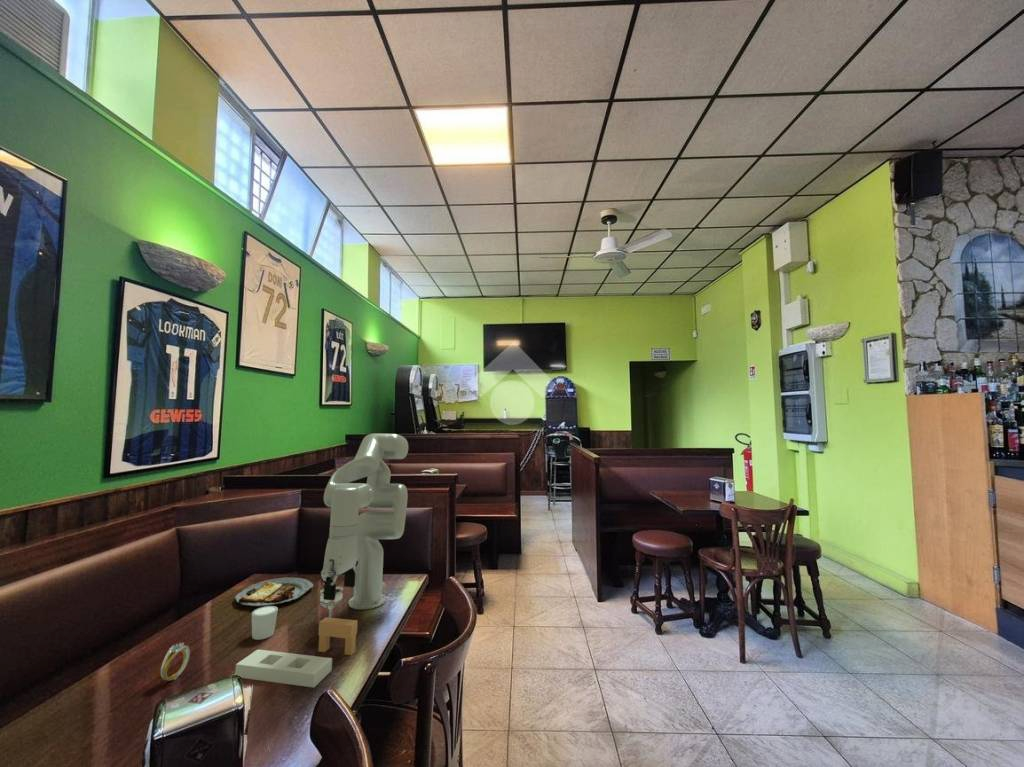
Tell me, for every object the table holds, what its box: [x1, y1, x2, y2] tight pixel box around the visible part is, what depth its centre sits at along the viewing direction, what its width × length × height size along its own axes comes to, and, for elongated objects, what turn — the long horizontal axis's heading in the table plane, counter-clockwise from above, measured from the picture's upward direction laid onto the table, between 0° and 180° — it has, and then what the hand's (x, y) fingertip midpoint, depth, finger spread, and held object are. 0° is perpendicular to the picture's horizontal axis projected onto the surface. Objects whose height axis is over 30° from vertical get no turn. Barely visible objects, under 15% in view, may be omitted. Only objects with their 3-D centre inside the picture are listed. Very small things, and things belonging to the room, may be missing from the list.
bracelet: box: [160, 642, 191, 682], centre depth 101 cm, size 7×3×8 cm, turn 172°
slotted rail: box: [234, 649, 333, 688], centre depth 103 cm, size 7×22×3 cm, turn 80°
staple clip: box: [318, 616, 359, 656], centre depth 114 cm, size 3×10×8 cm, turn 80°
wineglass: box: [318, 585, 344, 618], centre depth 126 cm, size 7×7×12 cm
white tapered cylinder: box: [251, 605, 279, 640], centre depth 122 cm, size 7×7×7 cm
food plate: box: [234, 576, 314, 608], centre depth 150 cm, size 25×23×4 cm
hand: (339, 592), depth 115 cm, fingers open, 9 cm apart
